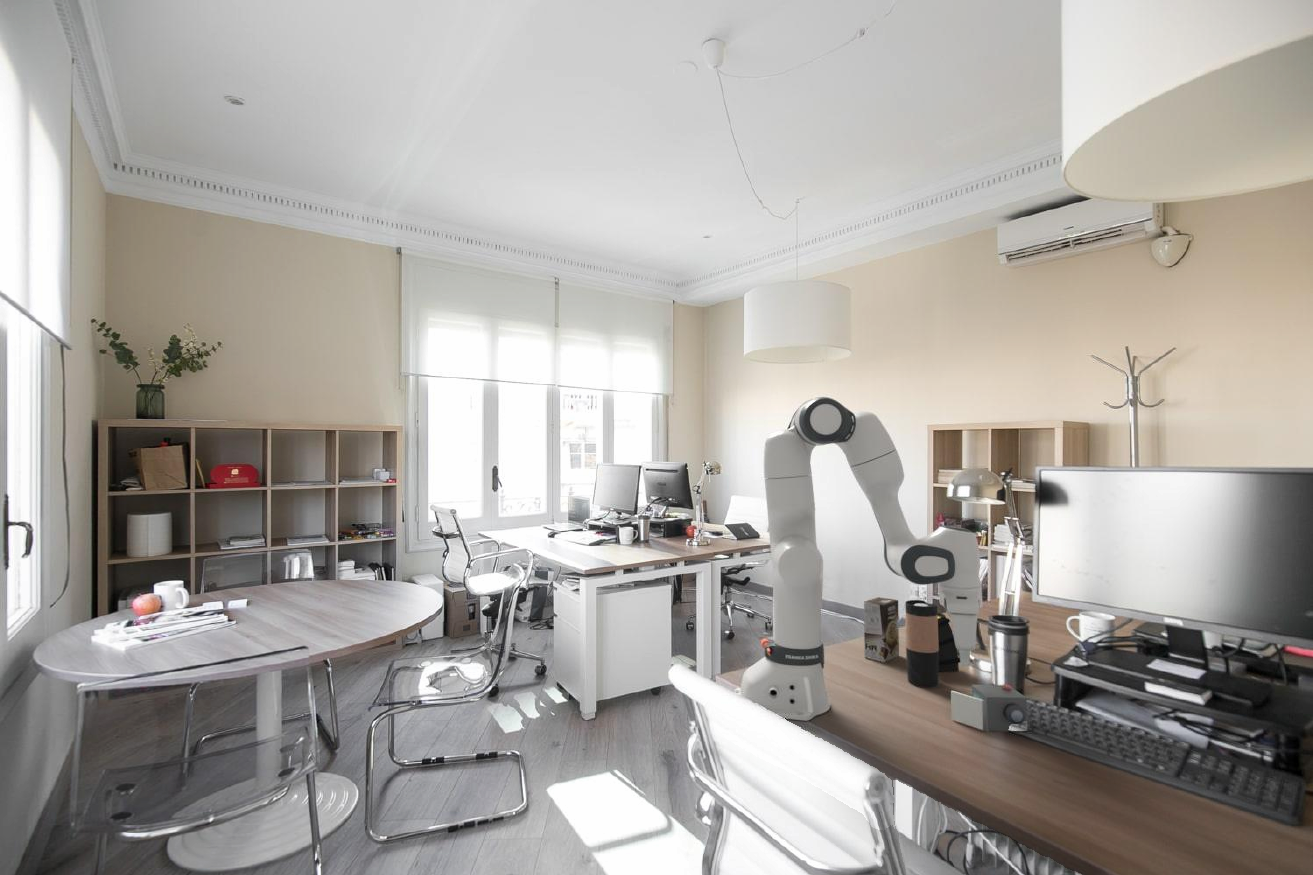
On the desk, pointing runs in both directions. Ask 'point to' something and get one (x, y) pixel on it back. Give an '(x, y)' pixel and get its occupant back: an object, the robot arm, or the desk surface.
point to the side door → (969, 710)
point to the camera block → (1001, 705)
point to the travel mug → (922, 643)
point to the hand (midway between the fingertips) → (963, 658)
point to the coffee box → (881, 629)
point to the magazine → (946, 646)
